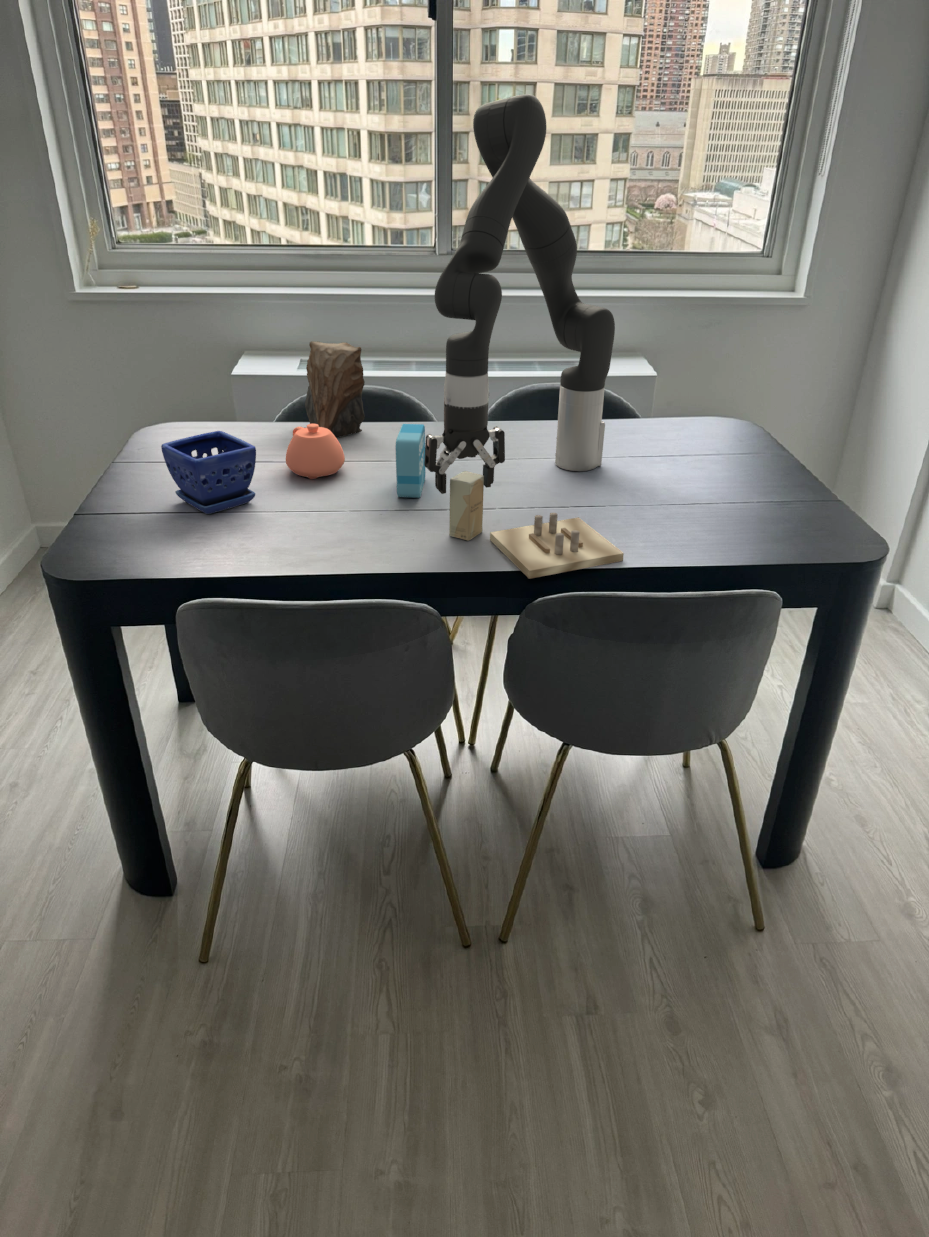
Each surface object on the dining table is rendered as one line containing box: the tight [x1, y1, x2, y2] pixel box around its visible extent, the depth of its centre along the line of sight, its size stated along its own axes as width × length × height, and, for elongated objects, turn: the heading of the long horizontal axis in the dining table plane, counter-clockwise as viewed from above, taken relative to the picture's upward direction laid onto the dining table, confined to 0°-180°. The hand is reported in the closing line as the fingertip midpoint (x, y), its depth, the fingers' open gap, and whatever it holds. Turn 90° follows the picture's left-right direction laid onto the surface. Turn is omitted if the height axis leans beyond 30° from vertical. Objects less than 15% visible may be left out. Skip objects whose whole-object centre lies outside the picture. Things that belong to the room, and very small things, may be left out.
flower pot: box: [160, 430, 257, 515], centre depth 168 cm, size 13×13×12 cm
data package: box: [395, 423, 426, 499], centre depth 175 cm, size 12×4×12 cm, turn 176°
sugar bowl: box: [285, 423, 346, 480], centre depth 184 cm, size 12×14×10 cm
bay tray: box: [489, 512, 625, 580], centre depth 153 cm, size 18×16×5 cm
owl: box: [304, 340, 366, 439], centre depth 204 cm, size 13×13×20 cm
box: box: [448, 470, 485, 541], centre depth 157 cm, size 5×4×11 cm
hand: (464, 489), depth 156 cm, fingers open, 8 cm apart
